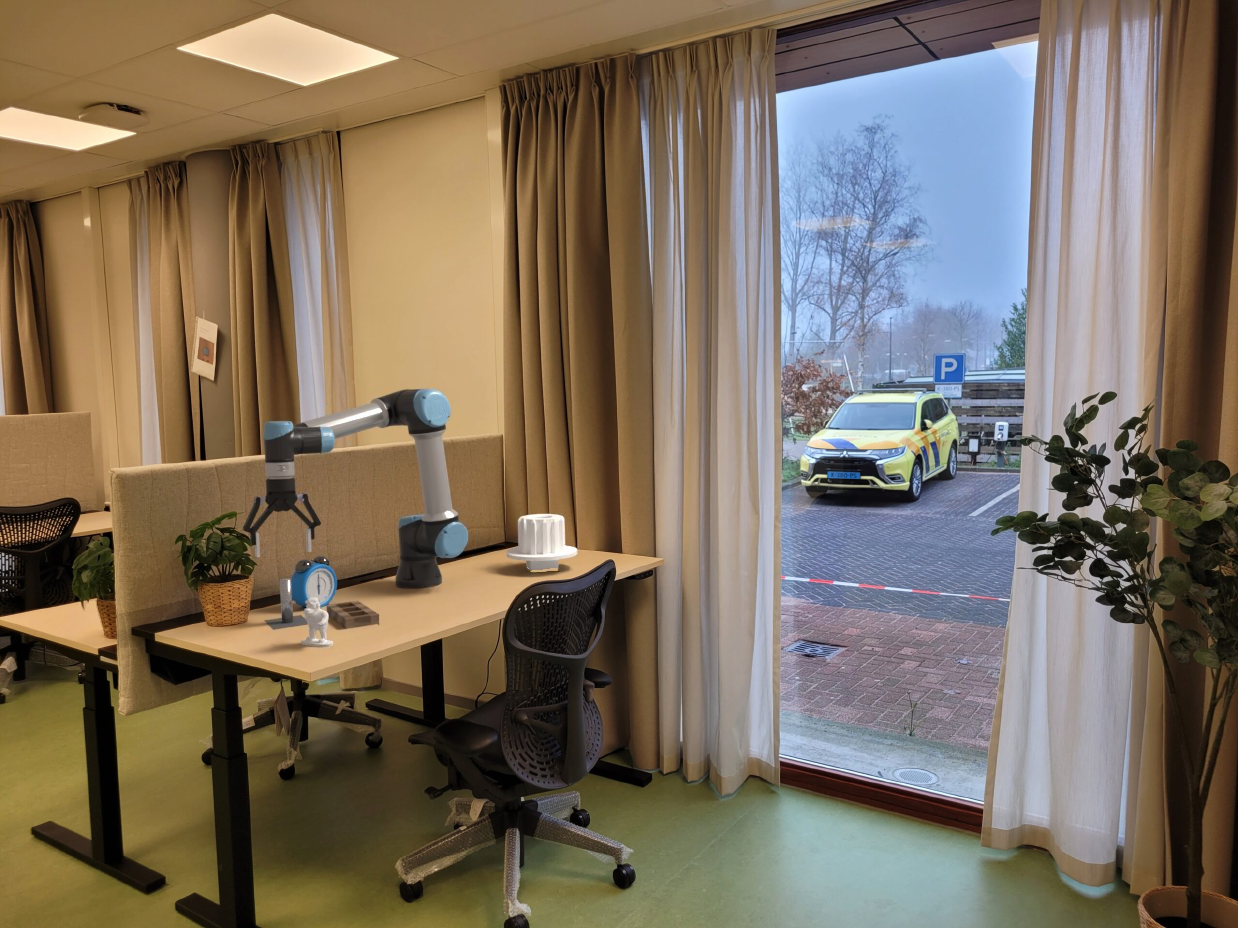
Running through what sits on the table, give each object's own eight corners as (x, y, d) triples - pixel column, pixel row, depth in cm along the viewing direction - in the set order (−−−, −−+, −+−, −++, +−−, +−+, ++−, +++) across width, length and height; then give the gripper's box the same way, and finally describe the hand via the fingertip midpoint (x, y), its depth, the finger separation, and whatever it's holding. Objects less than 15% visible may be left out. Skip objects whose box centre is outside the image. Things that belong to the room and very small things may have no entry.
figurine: (292, 646, 229) (290, 599, 228) (310, 639, 235) (308, 593, 234) (320, 649, 226) (318, 602, 225) (338, 642, 232) (336, 596, 231)
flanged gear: (511, 578, 306) (509, 523, 304) (503, 565, 330) (501, 513, 329) (583, 574, 312) (582, 519, 310) (570, 561, 336) (569, 510, 334)
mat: (264, 621, 254) (264, 620, 254) (301, 616, 260) (301, 614, 260) (273, 630, 244) (273, 629, 244) (311, 625, 249) (311, 623, 249)
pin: (280, 621, 252) (278, 579, 251) (291, 620, 254) (289, 577, 253) (283, 623, 250) (280, 580, 249) (294, 622, 251) (292, 579, 250)
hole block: (326, 615, 260) (326, 604, 260) (358, 610, 265) (357, 600, 265) (346, 630, 244) (345, 619, 243) (379, 624, 248) (378, 614, 248)
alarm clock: (304, 613, 263) (301, 562, 262) (289, 611, 266) (287, 560, 265) (338, 603, 274) (336, 554, 273) (324, 601, 278) (322, 553, 276)
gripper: (234, 481, 239) (237, 561, 240) (330, 475, 252) (333, 551, 254) (229, 479, 245) (232, 556, 247) (323, 473, 258) (326, 547, 260)
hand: (283, 554), depth 250 cm, fingers open, 13 cm apart
